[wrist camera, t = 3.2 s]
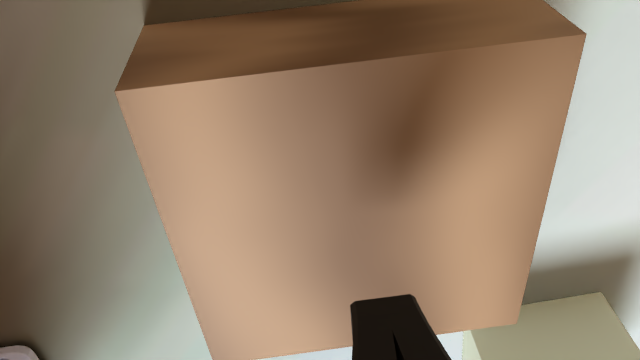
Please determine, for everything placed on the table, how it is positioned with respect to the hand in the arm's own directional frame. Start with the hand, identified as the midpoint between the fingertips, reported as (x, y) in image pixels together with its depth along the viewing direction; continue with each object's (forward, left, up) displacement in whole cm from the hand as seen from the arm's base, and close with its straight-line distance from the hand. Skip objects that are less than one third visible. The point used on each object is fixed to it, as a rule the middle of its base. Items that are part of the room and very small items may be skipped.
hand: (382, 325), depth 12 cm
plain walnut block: (0, 0, -7) cm, 7 cm away
